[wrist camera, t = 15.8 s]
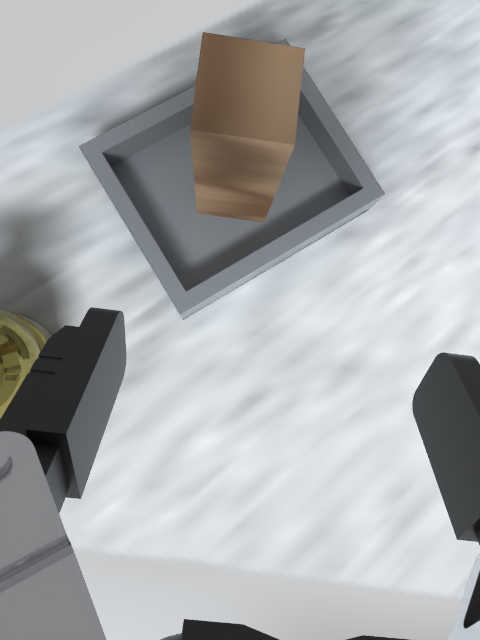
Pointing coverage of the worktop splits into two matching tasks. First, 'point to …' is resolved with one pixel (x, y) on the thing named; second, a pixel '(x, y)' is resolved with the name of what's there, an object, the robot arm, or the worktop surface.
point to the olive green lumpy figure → (17, 352)
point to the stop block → (243, 124)
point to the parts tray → (220, 232)
